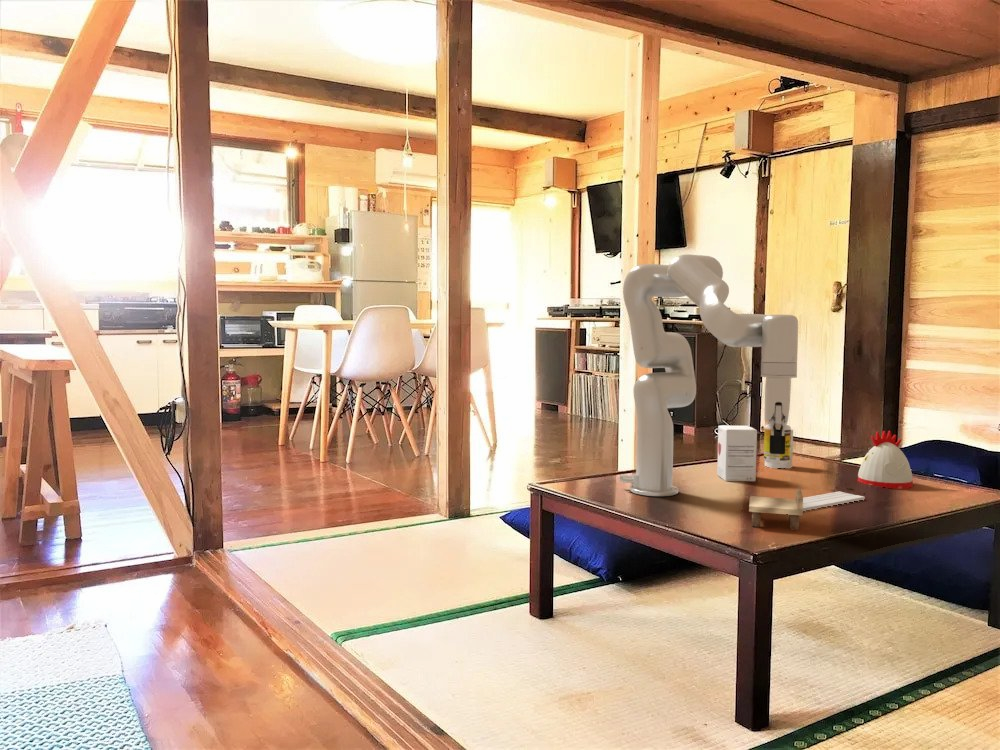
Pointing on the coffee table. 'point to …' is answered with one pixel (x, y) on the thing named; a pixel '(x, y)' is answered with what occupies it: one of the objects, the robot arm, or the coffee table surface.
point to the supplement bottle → (767, 455)
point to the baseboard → (830, 499)
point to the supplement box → (737, 453)
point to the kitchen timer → (886, 464)
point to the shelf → (777, 508)
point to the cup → (785, 465)
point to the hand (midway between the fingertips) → (777, 450)
